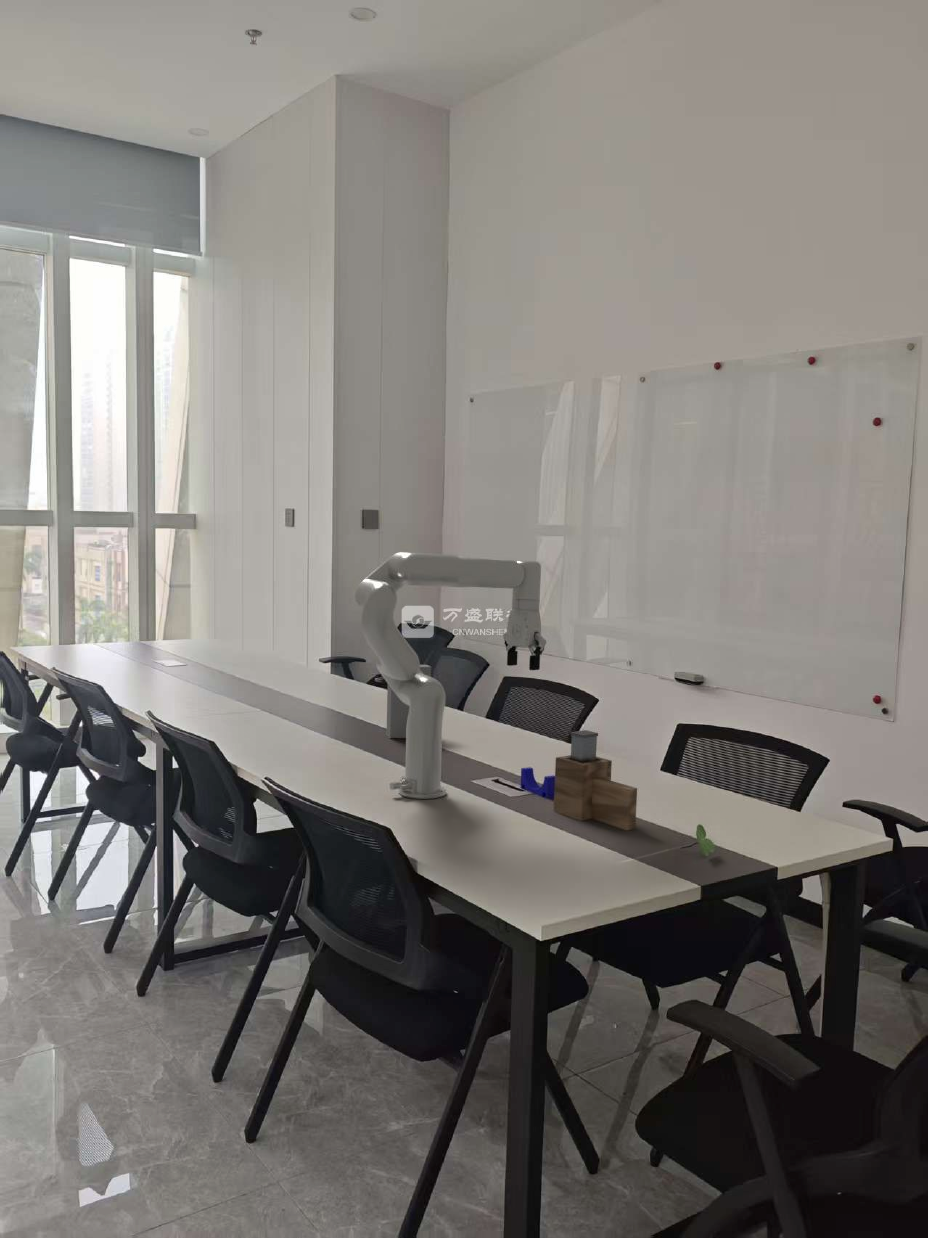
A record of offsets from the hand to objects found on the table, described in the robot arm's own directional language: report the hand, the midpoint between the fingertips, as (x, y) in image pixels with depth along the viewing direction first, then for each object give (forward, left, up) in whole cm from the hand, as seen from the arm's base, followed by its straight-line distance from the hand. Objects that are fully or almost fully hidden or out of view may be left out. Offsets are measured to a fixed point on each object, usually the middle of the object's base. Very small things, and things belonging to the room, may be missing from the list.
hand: (523, 667), depth 283 cm
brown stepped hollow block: (-3, -28, -34) cm, 44 cm away
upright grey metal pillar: (-3, -28, -24) cm, 37 cm away
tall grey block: (+11, +69, -34) cm, 78 cm away
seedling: (-5, -62, -34) cm, 71 cm away
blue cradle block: (+1, -8, -34) cm, 35 cm away
